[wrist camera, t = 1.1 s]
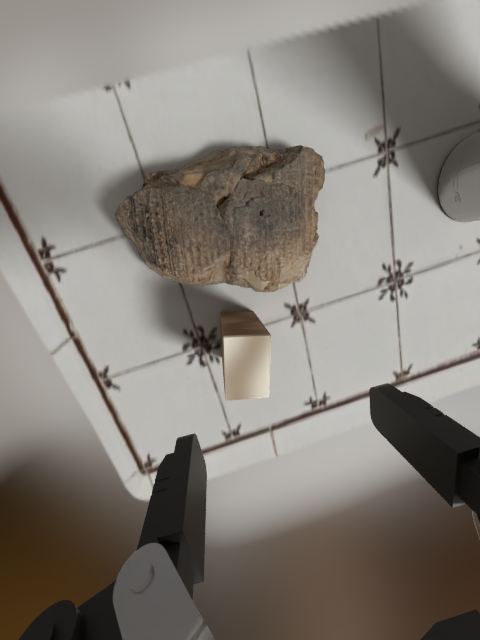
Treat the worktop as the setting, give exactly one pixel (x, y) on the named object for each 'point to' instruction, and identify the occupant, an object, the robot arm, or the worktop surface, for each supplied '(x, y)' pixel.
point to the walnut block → (245, 356)
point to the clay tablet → (229, 218)
